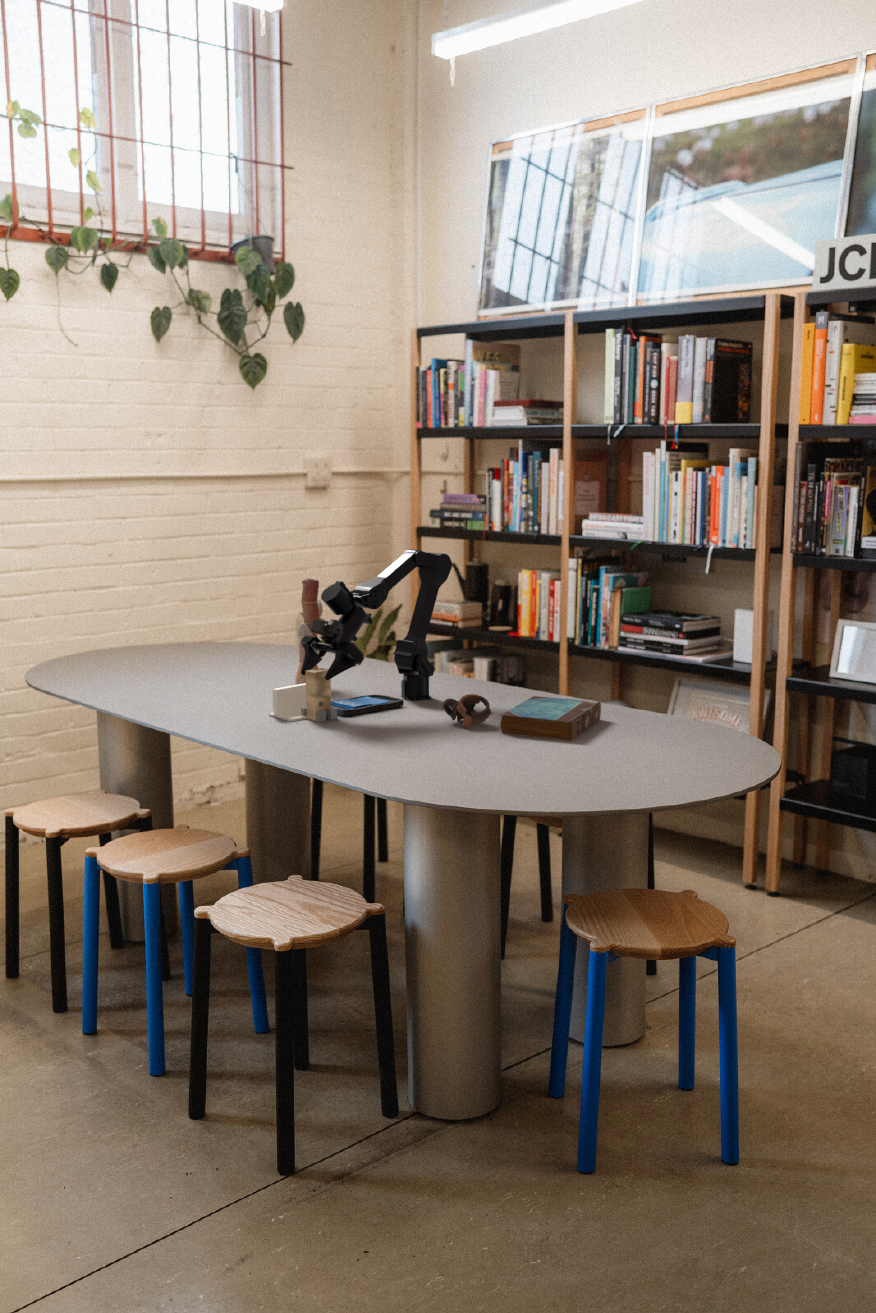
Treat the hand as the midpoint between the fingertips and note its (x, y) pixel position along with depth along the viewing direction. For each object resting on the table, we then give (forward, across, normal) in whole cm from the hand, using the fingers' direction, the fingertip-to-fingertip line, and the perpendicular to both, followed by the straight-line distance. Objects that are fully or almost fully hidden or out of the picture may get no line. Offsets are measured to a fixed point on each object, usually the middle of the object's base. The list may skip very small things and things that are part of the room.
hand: (313, 676), depth 287 cm
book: (-16, +47, +32) cm, 59 cm away
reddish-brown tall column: (-11, -34, +26) cm, 44 cm away
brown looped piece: (-8, +30, +24) cm, 39 cm away
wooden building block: (+6, 0, +8) cm, 11 cm away
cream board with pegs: (+7, -4, +8) cm, 11 cm away
